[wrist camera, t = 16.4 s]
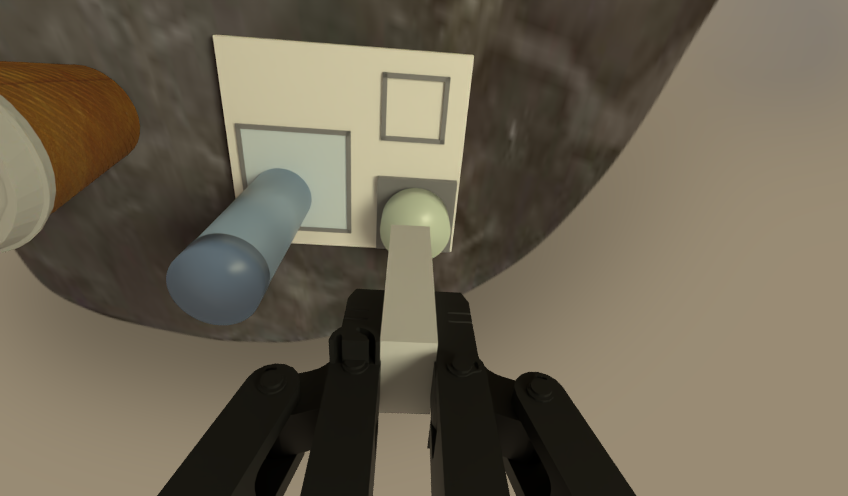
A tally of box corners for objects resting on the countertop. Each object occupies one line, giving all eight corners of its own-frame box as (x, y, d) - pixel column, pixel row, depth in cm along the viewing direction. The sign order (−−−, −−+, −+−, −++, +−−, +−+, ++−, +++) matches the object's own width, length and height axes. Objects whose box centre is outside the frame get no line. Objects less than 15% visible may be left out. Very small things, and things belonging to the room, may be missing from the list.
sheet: (217, 34, 27) (209, 35, 26) (472, 54, 28) (475, 56, 27) (245, 235, 33) (239, 243, 32) (450, 246, 34) (451, 254, 33)
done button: (382, 186, 30) (380, 196, 28) (451, 190, 30) (454, 200, 28) (380, 247, 32) (379, 260, 30) (445, 250, 32) (446, 264, 31)
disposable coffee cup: (84, 200, 32) (-81, 292, 21) (-22, 71, 28) (-293, 104, 17) (193, 154, 30) (76, 227, 20) (100, 10, 26) (-114, 5, 16)
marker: (248, 165, 30) (157, 246, 19) (311, 169, 30) (255, 251, 20) (254, 221, 32) (175, 323, 21) (313, 225, 32) (264, 327, 22)
